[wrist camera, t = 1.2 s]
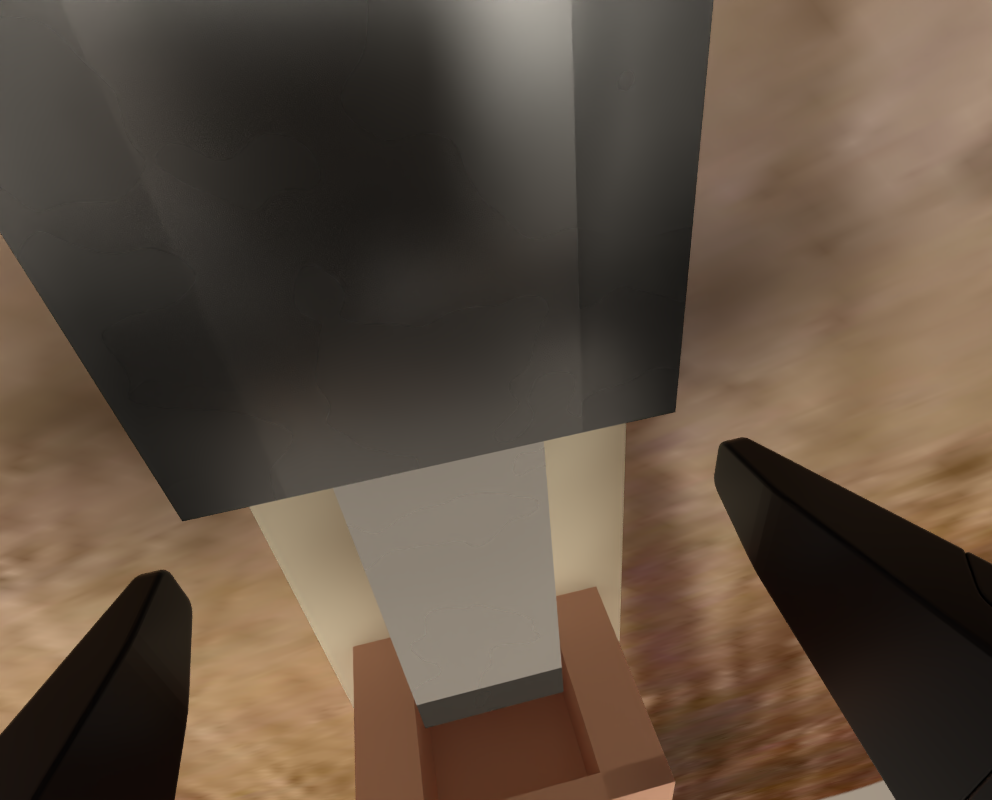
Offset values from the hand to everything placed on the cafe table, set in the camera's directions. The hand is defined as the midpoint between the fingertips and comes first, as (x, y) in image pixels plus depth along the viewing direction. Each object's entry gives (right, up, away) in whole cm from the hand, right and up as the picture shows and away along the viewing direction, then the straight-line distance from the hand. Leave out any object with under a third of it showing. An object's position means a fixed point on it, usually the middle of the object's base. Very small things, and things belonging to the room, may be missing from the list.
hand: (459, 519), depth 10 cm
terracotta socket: (0, -6, +9) cm, 11 cm away
